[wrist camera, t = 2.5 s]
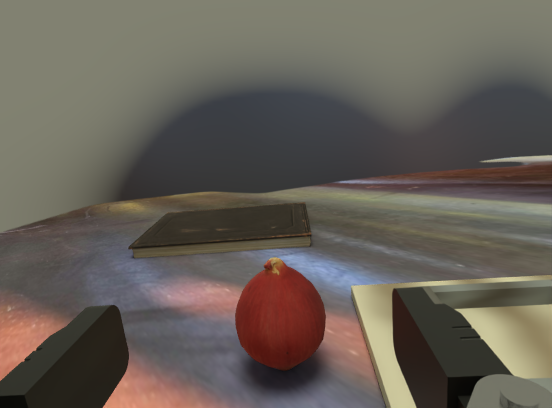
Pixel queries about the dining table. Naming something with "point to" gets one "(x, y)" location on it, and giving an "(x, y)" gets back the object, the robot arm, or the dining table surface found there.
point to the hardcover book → (226, 230)
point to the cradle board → (479, 313)
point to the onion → (280, 317)
